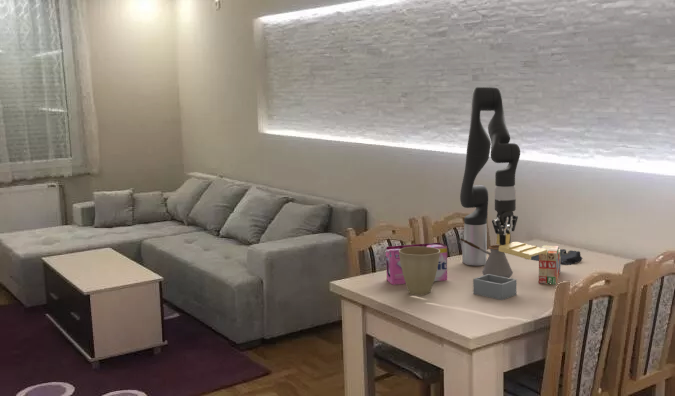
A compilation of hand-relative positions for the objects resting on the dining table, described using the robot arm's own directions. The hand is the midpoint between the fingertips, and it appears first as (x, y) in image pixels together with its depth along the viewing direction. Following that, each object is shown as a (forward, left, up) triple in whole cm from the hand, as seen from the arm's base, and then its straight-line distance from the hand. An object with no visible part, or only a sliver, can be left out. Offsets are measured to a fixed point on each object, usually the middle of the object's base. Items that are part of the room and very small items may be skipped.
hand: (505, 244), depth 264 cm
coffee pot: (-12, +5, -16) cm, 21 cm away
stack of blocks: (+6, +22, -16) cm, 28 cm away
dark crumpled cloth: (-9, +50, -17) cm, 54 cm away
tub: (+5, -13, -16) cm, 21 cm away
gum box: (-30, -15, -16) cm, 37 cm away
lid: (+6, 0, -2) cm, 6 cm away
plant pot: (-17, -28, -16) cm, 37 cm away
